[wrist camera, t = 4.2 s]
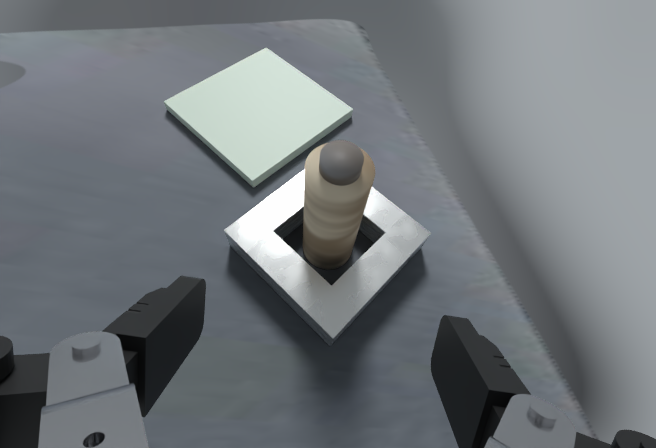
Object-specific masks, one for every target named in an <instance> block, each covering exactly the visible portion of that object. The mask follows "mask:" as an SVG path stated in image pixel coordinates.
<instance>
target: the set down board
mask: <svg viewBox="0 0 656 448" xmlns="http://www.w3.org/2000/svg"><path fill="white" fill-rule="evenodd" d="M164 104H165V106H166V108H167V110H168V111H169V112H170V113H171V114H172V115H174V116H175V117H176V118H177V119H178V120H179V121H180V122H181V123H182V124H184V125H185V126H186V127H187V128H188V129H189V130H190V131H191V132H192V133H194V134H195V135H196V136H197V137H198V138H199V139H200V140H201V141H202V142H203V143H205V144H206V145H207V146H208V147H209V148H210V149H211V150H212V151H213V152H215V153H216V154H217V155H218V156H219V157H220V158H221V159H222V160H223V161H225V162H226V163H227V164H228V165H229V166H230V167H231V168H232V169H233V170H235V171H236V172H237V173H238V174H239V175H240V176H241V177H242V178H243V179H245V180H246V181H247V182H248V183H249V184H250V185H251V186H252V187H253V188H254V187H255V186H257V185H258V184H260V183H261V182H262V181H264V180H265V179H266V178H268V177H269V176H271V175H272V174H273V173H275V172H276V171H277V170H279V169H280V168H282V167H283V166H284V165H286V164H287V163H289V162H290V161H291V160H293V159H294V158H295V157H297V156H298V155H300V154H301V153H302V152H304V151H305V150H306V149H308V148H309V147H311V146H312V145H313V144H315V143H316V142H318V141H319V140H320V139H322V138H323V137H324V136H326V135H327V134H329V133H330V132H331V131H333V130H334V129H335V128H337V127H338V126H340V125H341V124H342V123H344V122H345V121H347V120H348V119H349V118H351V117H352V112H353V109H352V108H351V107H349V106H348V105H346V104H345V103H344V102H342V101H341V100H339V99H338V98H337V97H335V96H334V95H332V94H331V93H330V92H328V91H327V90H325V89H324V88H322V87H321V86H320V85H318V84H317V83H315V82H314V81H313V80H311V79H310V78H308V77H307V76H306V75H304V74H303V73H301V72H300V71H299V70H297V69H296V68H294V67H293V66H291V65H290V64H289V63H287V62H286V61H284V60H283V59H282V58H280V57H279V56H277V55H276V54H275V53H273V52H272V51H270V50H269V49H267V48H264V49H263V50H261V51H259V52H257V53H255V54H253V55H251V56H249V57H247V58H245V59H243V60H242V61H240V62H238V63H236V64H234V65H232V66H230V67H228V68H226V69H224V70H223V71H221V72H219V73H217V74H215V75H213V76H211V77H209V78H207V79H205V80H204V81H202V82H200V83H198V84H196V85H194V86H192V87H190V88H188V89H186V90H185V91H183V92H181V93H179V94H177V95H175V96H173V97H171V98H169V99H167V100H166V101H164Z"/></svg>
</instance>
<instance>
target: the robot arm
mask: <svg viewBox="0 0 656 448" xmlns="http://www.w3.org/2000/svg"><path fill="white" fill-rule="evenodd" d="M205 292H206V283H205V280H204V279H200V278H193V277H186V276H180V277H179V278H178V279H177V280H175V281H174V282H173V283H172V284H171V285H170V286H169V287H168V288H160V289H157V290H155V291H153V292H150V293H148V294H146V295H145V296H144V297H143V298H141V299H140V300H139V301H138V302H137V304H134V305H133V306H132V307H130V308H129V310H128V311H126V312H124V313H123V314H122V315H121V316H120V317H118V318H117V319H116V320H115V321H114V322H112V323H111V324H110V325H109V326H108V327H106V328H105V329H104V330H103V331H102V332H101V331H96V332H86V333H81V334H78V335H74V336H72V337H69V338H67V339H65V340H63V341H61V342H60V343H58V344H57V345H56V346H55V347H54V348H53V349H52V350H51V352H50V353H45V354H28V355H14V354H13V344H12V341H11V340H10V339H8V338H7V337H4V336H0V448H149V447H148V442H147V438H146V433H145V429H144V424H143V420H142V417H145V416H146V415H147V413H148V412H149V411H150V409H151V408H152V406H153V405H154V403H155V402H156V400H157V399H158V397H159V396H160V395H161V393H162V392H163V390H164V389H165V387H166V386H167V384H168V383H169V382H170V380H171V379H172V377H173V376H174V374H175V373H176V371H177V370H178V369H179V367H180V366H181V364H182V363H183V361H184V360H185V358H186V357H187V356H188V354H189V353H190V351H191V350H192V348H193V347H194V345H195V344H196V343H197V341H198V339H199V337H200V335H201V332H202V329H203V324H204V310H205ZM431 372H432V376H433V379H434V382H435V384H436V387H437V390H438V393H439V395H440V398H441V401H442V403H443V406H444V409H445V411H446V414H447V417H448V420H449V422H450V425H451V428H452V430H453V433H454V436H455V438H456V441H457V444H458V447H459V448H656V439H654V438H652V437H650V436H648V435H645V434H642V433H639V432H636V431H632V430H620V431H618V432H617V434H616V436H615V438H614V440H613V442H612V445H610V444H607V443H605V442H602V441H600V440H597V439H594V438H591V437H589V436H586V435H583V434H580V433H578V432H576V428H575V426H574V424H573V422H572V421H571V419H570V418H569V417H568V416H567V415H566V414H565V413H564V412H563V411H561V410H560V409H559V408H557V407H556V406H554V405H553V404H551V403H549V402H548V401H546V400H544V399H541V398H539V397H536V396H533V395H531V394H530V392H529V391H528V390H527V388H526V387H525V385H524V384H523V383H522V381H521V380H520V378H519V377H518V376H517V374H516V373H515V372H514V370H513V369H511V366H510V365H509V363H508V362H507V360H506V359H504V356H503V355H502V353H501V352H500V351H499V349H498V348H497V347H496V346H495V345H494V344H493V343H492V342H490V341H489V340H488V339H487V338H485V337H484V336H481V335H479V334H478V333H477V331H476V330H475V328H474V327H473V325H472V324H471V322H470V321H469V320H468V319H467V318H460V317H454V316H447V315H444V316H443V317H442V319H441V321H440V325H439V329H438V333H437V337H436V341H435V345H434V349H433V353H432V358H431Z"/></svg>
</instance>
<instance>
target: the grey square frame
mask: <svg viewBox="0 0 656 448" xmlns="http://www.w3.org/2000/svg"><path fill="white" fill-rule="evenodd" d="M304 174H305V170H303V171H302V172H301V173H299V174H298V175H297V176H295V177H294V178H293V179H291V180H290V181H289V182H287V183H286V184H285V185H283V186H282V187H281V188H279V189H278V190H277V191H275V192H274V193H273V194H271V195H270V196H269V197H268V198H266V199H265V200H264V201H262V202H261V203H260V204H258V205H257V206H256V207H254V208H253V209H252V210H250V211H249V212H248V213H246V214H245V215H244V216H242V217H241V218H240V219H238V220H237V221H236V222H234V223H233V224H232V225H230V226H229V227H228V228H226V229H225V230H224V231H225V234H226V237H227V239H228V242H229V245H230V246H231V247H232V248H233V249H234V250H235V251H236V252H237V253H238V254H239V255H240V256H241V257H242V258H243V259H244V260H245V261H246V262H247V263H248V264H249V265H250V266H251V267H252V268H253V269H254V270H255V271H256V272H257V273H258V274H259V275H260V276H261V277H262V278H263V279H264V280H265V281H266V282H267V283H268V284H269V285H270V286H271V287H272V288H273V289H274V290H275V291H276V292H277V293H278V294H279V295H280V296H281V297H282V298H283V299H284V300H285V301H286V302H287V303H288V304H289V306H290V307H291V308H292V309H293V310H294V311H295V312H296V313H297V314H298V315H299V316H300V317H301V318H302V319H303V320H304V321H305V322H306V323H307V324H308V325H309V326H310V327H311V328H312V329H313V330H314V331H315V332H316V333H317V334H318V335H319V336H320V337H321V338H322V339H323V340H324V341H325V342H326V343H327V344H328V345H329V346H331V345H332V344H333V343H334V342H335V341H336V339H337V338H338V337H339V336H340V335H341V334H342V333H343V332H344V331H345V330H346V329H347V328H348V326H349V325H350V324H351V323H352V322H353V321H354V320H355V319H356V318H357V317H358V316H359V315H360V313H361V312H362V311H363V310H364V309H365V308H366V307H367V306H368V305H369V304H370V303H371V302H372V300H373V299H374V298H375V297H376V296H377V295H378V294H379V293H380V292H381V291H382V290H383V289H384V287H385V286H386V285H387V284H388V283H389V282H390V281H391V280H392V279H393V278H394V277H395V276H396V274H397V273H398V272H399V271H400V270H401V269H402V268H403V267H404V266H405V265H406V264H407V263H408V261H409V260H410V259H411V258H412V257H413V256H414V255H415V254H416V253H417V252H418V251H419V250H420V248H421V247H422V246H423V244H424V243H425V242H426V240H427V239H428V237H429V236H430V234H431V233H430V232H429V231H428V230H427V229H425V228H424V227H423V226H421V225H420V224H419V223H418V222H416V221H415V220H414V219H412V218H411V217H410V216H409V215H407V214H406V213H405V212H403V211H402V210H401V209H400V208H398V207H397V206H396V205H394V204H393V203H392V202H391V201H389V200H388V199H387V198H386V197H384V196H383V195H382V194H380V193H379V192H378V191H377V190H375V189H374V188H373V187H371V190H370V194H369V197H368V200H367V204H366V207H365V210H364V213H363V217H362V220H361V223H360V226H359V231H361V232H362V233H363V234H364V235H365V236H367V237H368V238H369V239H370V240H371V241H373V242H374V243H375V244H374V245H373V246H372V247H371V248H369V249H368V250H367V251H366V252H365V253H364V254H363V255H362V256H361V257H360V258H359V259H358V260H357V261H356V262H355V263H354V264H353V265H352V266H351V267H350V268H349V269H348V270H347V271H346V272H345V273H344V274H343V275H342V276H341V277H340V278H339V279H338V280H337V281H336V282H335V283H334V284H333V285H332V286H331V285H330V284H329V283H328V282H327V281H326V280H325V279H324V278H323V277H322V276H320V275H319V274H318V273H317V272H316V271H315V270H314V269H313V268H312V267H311V266H310V265H309V264H308V263H307V262H305V261H304V260H303V259H302V258H301V257H300V256H299V255H298V254H297V253H296V252H295V251H294V250H293V249H292V248H291V247H289V246H288V245H287V244H286V243H285V242H284V241H283V240H282V239H284V238H285V237H286V236H287V235H288V234H290V233H291V232H292V231H293V230H294V229H296V228H297V227H298V226H299V225H300V224H302V223H303V217H304Z"/></svg>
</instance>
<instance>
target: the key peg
mask: <svg viewBox="0 0 656 448" xmlns="http://www.w3.org/2000/svg"><path fill="white" fill-rule="evenodd" d="M374 177H375V167H374V163H373V161H372V159H371V158H370V156H369V155H368V154H367V153H366V152H365V151H363V150H362V149H361V148H359V147H358V146H357V145H355V144H354V143H352V142H349V141H345V140H335V141H332V142H329V143H326V144H323V145H320V146H318V147H317V148H315V149H314V150H313V151H312V152H311V153H310V154H309V155H308V157H307V159H306V162H305V174H304V217H303V252H304V255H305V257H306V258H307V260H308V261H309V262H310V263H311V264H312V265H314V266H316V267H318V268H321V269H326V270H330V269H336V268H339V267H341V266H342V265H344V264H345V263H346V262H347V261H348V259H349V258H350V256H351V253H352V249H353V246H354V243H355V240H356V236H357V233H358V230H359V226H360V223H361V220H362V217H363V213H364V210H365V207H366V204H367V200H368V197H369V194H370V190H371V187H372V184H373V181H374Z"/></svg>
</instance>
